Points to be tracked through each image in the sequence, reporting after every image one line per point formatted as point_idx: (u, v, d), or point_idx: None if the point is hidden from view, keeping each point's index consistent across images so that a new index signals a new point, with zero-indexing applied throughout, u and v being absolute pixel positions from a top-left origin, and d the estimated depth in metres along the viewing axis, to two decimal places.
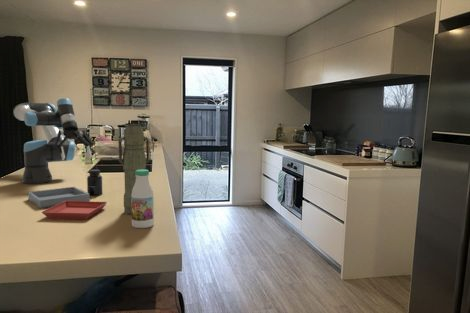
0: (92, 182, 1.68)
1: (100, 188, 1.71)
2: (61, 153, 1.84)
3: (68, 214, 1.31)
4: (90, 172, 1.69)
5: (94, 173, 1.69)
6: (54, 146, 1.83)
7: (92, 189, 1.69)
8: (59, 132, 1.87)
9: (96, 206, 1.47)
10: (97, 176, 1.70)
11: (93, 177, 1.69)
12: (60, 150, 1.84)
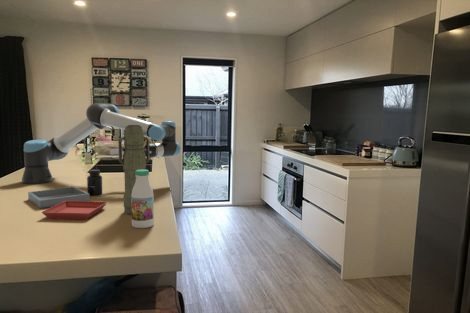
0: (92, 182, 1.68)
1: (100, 188, 1.71)
2: None
3: (68, 214, 1.31)
4: (90, 172, 1.69)
5: (94, 173, 1.69)
6: None
7: (92, 189, 1.69)
8: None
9: (96, 206, 1.47)
10: (97, 176, 1.70)
11: (93, 177, 1.69)
12: None
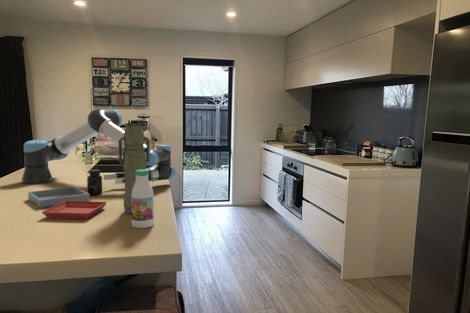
0: (92, 182, 1.68)
1: (100, 188, 1.71)
2: (122, 179, 1.73)
3: (68, 214, 1.31)
4: (90, 172, 1.69)
5: (94, 173, 1.69)
6: None
7: (92, 189, 1.69)
8: None
9: (96, 206, 1.47)
10: (97, 176, 1.70)
11: (93, 177, 1.69)
12: None
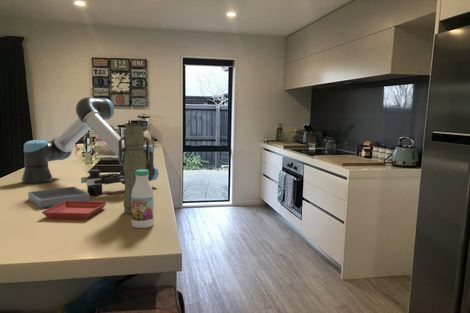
0: None
1: (100, 188, 1.71)
2: (94, 181, 1.67)
3: (68, 214, 1.31)
4: (90, 172, 1.69)
5: (94, 173, 1.69)
6: (104, 182, 1.68)
7: (92, 189, 1.69)
8: (121, 182, 1.74)
9: (96, 206, 1.47)
10: (97, 176, 1.70)
11: (93, 177, 1.69)
12: None
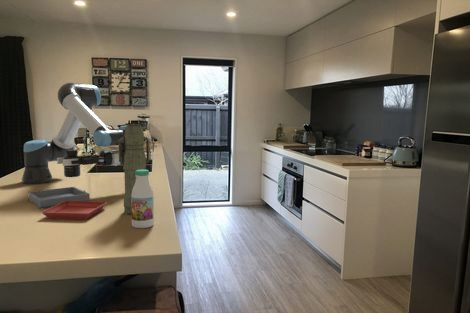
0: None
1: (78, 169, 1.61)
2: (71, 161, 1.57)
3: (68, 214, 1.31)
4: (67, 152, 1.59)
5: (71, 153, 1.59)
6: (82, 162, 1.58)
7: (69, 170, 1.59)
8: None
9: (96, 206, 1.47)
10: (74, 156, 1.60)
11: (70, 157, 1.58)
12: (74, 163, 1.58)
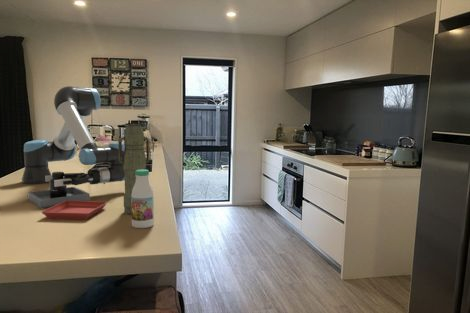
0: None
1: (64, 192, 1.58)
2: None
3: (68, 214, 1.31)
4: (53, 174, 1.57)
5: (57, 176, 1.56)
6: (74, 182, 1.54)
7: (54, 193, 1.56)
8: (90, 182, 1.62)
9: (96, 206, 1.47)
10: (60, 179, 1.57)
11: None
12: (66, 184, 1.54)
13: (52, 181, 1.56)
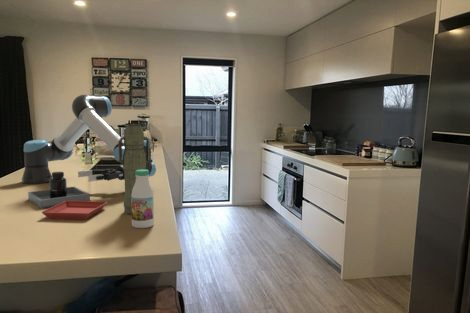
0: (54, 186, 1.56)
1: (64, 192, 1.58)
2: (96, 176, 1.63)
3: (68, 214, 1.31)
4: (52, 174, 1.57)
5: (57, 176, 1.56)
6: (107, 177, 1.63)
7: (54, 193, 1.56)
8: (120, 177, 1.71)
9: (96, 206, 1.47)
10: (60, 179, 1.57)
11: (55, 180, 1.56)
12: None
13: (52, 181, 1.56)
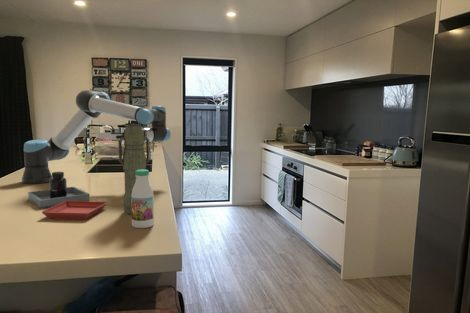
0: (54, 186, 1.56)
1: (64, 192, 1.58)
2: (116, 136, 1.71)
3: (68, 214, 1.31)
4: (52, 174, 1.57)
5: (57, 176, 1.56)
6: None
7: (54, 193, 1.56)
8: None
9: (96, 206, 1.47)
10: (60, 179, 1.57)
11: (56, 180, 1.56)
12: (119, 138, 1.72)
13: (52, 181, 1.56)
